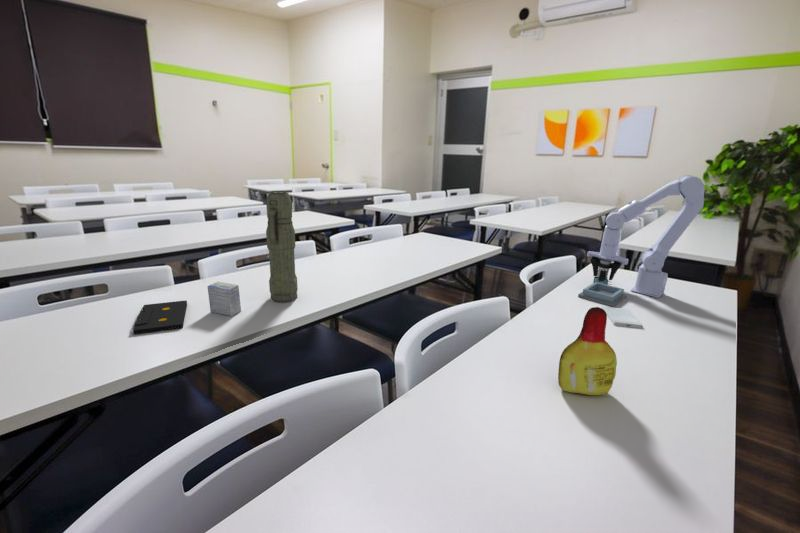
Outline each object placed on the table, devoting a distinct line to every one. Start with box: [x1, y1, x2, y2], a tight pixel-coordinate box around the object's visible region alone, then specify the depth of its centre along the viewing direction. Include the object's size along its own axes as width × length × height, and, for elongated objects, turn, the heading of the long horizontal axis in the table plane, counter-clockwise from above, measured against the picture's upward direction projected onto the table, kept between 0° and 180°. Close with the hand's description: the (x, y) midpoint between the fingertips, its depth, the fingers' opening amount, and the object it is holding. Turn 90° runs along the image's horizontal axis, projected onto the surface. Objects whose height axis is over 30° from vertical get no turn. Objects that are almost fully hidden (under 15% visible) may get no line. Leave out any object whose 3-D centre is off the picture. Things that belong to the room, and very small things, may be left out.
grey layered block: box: [207, 281, 242, 317], centre depth 120 cm, size 8×4×9 cm, turn 71°
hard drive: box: [601, 306, 644, 329], centre depth 127 cm, size 2×8×12 cm
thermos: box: [265, 190, 298, 303], centre depth 128 cm, size 9×12×35 cm
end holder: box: [577, 282, 628, 308], centre depth 144 cm, size 12×14×3 cm
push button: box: [592, 259, 613, 286], centre depth 156 cm, size 7×5×10 cm
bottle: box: [557, 306, 618, 396], centre depth 86 cm, size 12×6×20 cm, turn 86°
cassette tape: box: [132, 300, 188, 336], centre depth 115 cm, size 18×12×2 cm, turn 23°
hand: (602, 277), depth 157 cm, fingers open, 5 cm apart
